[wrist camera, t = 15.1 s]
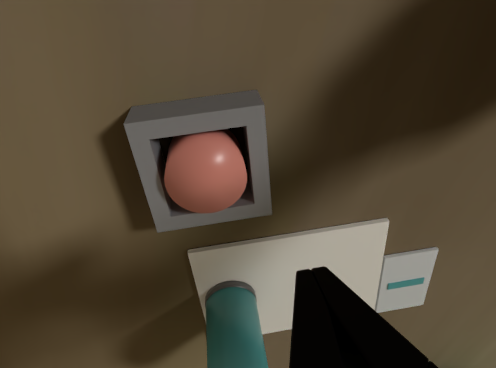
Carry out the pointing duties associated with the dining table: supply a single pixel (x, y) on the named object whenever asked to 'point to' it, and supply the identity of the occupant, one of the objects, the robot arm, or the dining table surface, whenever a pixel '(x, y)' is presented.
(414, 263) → the card
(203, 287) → the paper
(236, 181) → the button
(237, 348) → the canister
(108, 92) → the dining table surface
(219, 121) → the button housing
